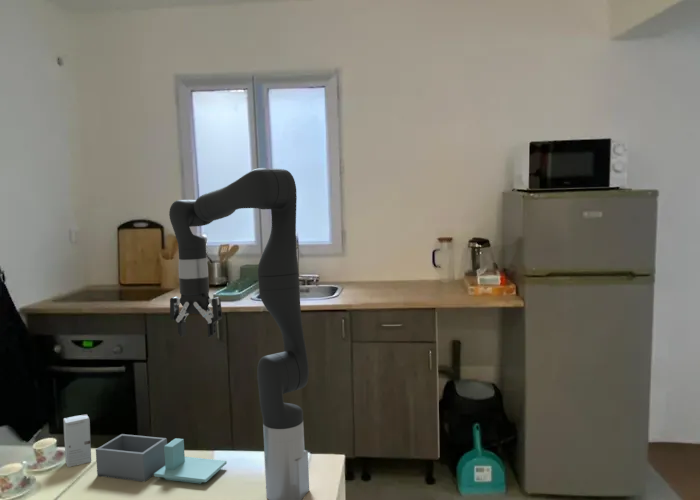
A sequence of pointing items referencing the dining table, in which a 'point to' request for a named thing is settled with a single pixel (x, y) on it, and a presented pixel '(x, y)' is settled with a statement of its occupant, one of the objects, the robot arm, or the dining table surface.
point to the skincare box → (77, 440)
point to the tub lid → (186, 465)
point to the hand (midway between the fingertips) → (197, 336)
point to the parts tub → (131, 457)
